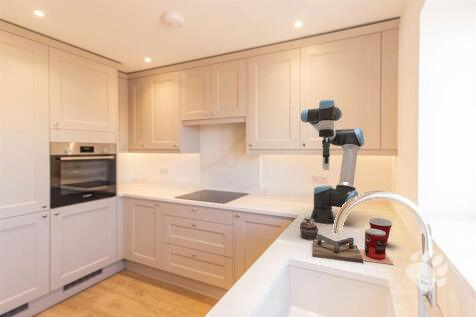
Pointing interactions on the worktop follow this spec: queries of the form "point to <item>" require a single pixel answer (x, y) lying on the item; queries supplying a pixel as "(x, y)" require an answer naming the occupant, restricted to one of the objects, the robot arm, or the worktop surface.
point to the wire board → (342, 252)
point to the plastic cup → (381, 225)
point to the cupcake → (308, 229)
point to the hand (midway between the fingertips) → (325, 169)
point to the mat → (384, 261)
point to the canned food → (375, 244)
